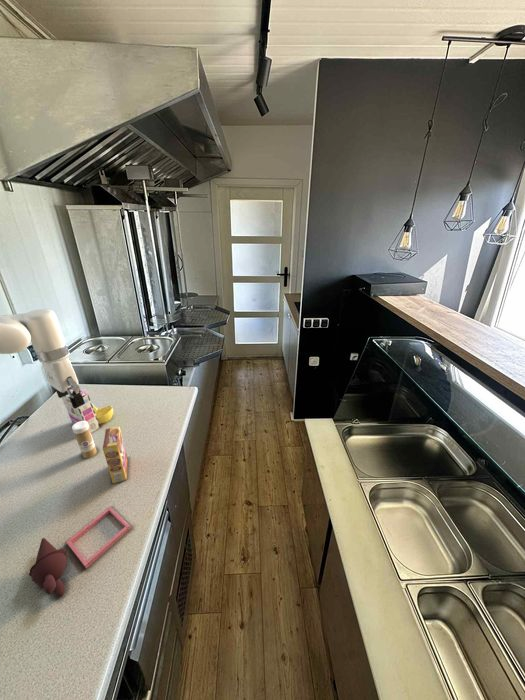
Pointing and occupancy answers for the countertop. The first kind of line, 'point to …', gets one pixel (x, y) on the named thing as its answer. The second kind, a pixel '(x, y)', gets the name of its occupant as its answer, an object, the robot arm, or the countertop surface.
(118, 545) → the countertop surface
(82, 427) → the sprinkles bottle
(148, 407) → the countertop surface
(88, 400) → the candy bar box
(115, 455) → the candy box
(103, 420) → the ladle
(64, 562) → the icecream
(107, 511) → the pink rectangular frame
